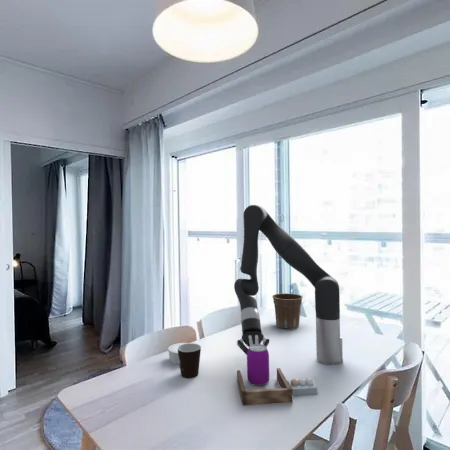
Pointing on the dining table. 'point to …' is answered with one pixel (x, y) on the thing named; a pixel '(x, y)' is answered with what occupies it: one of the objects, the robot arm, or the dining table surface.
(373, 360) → the dining table surface
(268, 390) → the walnut U-seat
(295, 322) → the plant pot
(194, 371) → the coffee mug
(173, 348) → the ramekin
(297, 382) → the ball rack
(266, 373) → the beverage can
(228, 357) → the dining table surface
